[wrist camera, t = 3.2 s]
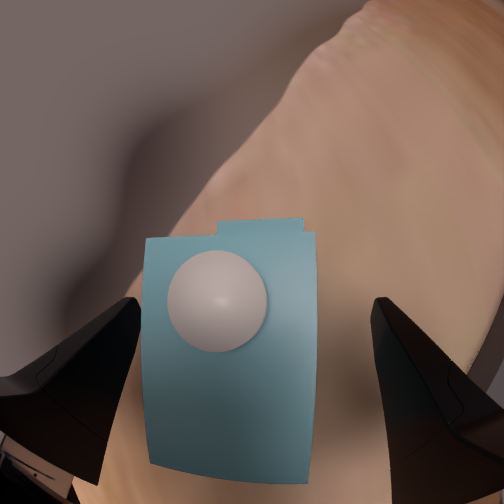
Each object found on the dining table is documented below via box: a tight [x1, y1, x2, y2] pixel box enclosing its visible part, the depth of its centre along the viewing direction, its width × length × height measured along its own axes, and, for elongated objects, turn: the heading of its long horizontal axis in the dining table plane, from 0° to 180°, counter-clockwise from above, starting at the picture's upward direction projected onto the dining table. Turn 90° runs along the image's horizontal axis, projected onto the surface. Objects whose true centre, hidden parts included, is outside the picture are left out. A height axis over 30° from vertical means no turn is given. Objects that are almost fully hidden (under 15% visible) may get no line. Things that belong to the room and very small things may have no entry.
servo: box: [141, 218, 317, 484], centre depth 10 cm, size 11×4×11 cm, turn 179°
